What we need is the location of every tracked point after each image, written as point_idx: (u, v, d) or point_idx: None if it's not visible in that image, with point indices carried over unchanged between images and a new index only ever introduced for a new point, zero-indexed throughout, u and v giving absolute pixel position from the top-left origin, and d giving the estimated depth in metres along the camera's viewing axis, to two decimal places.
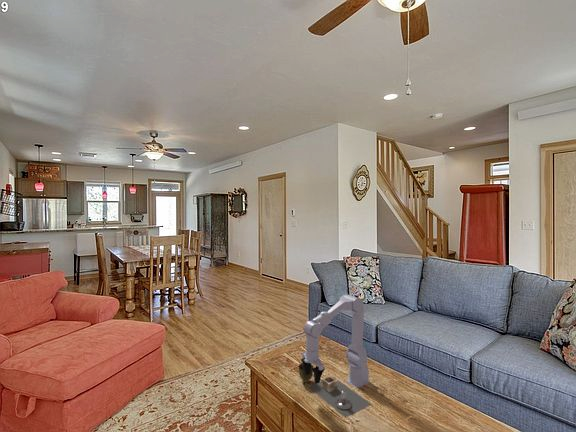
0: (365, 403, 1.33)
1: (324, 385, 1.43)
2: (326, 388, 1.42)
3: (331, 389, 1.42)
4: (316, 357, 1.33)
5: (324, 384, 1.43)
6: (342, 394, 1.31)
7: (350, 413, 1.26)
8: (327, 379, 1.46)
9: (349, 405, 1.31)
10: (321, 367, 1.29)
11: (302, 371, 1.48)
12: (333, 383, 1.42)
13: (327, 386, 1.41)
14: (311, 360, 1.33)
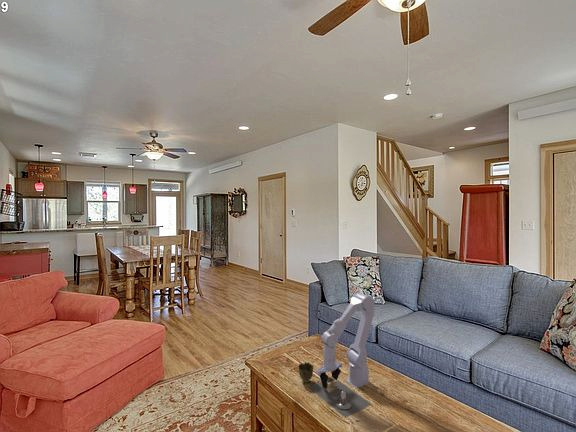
0: (365, 403, 1.33)
1: None
2: (326, 388, 1.42)
3: (331, 389, 1.42)
4: (325, 365, 1.43)
5: None
6: (342, 394, 1.31)
7: (350, 413, 1.26)
8: (327, 379, 1.46)
9: (349, 405, 1.31)
10: (317, 372, 1.41)
11: (302, 371, 1.48)
12: (333, 383, 1.42)
13: (327, 386, 1.41)
14: (323, 365, 1.45)
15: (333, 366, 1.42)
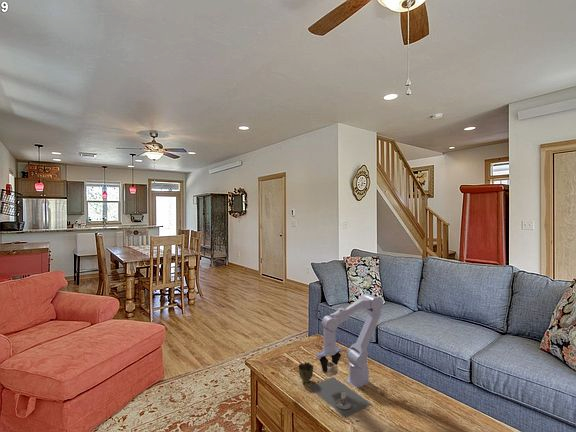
0: (365, 403, 1.33)
1: None
2: (326, 372, 1.42)
3: (331, 373, 1.42)
4: (325, 349, 1.42)
5: None
6: (342, 394, 1.31)
7: (350, 413, 1.26)
8: (327, 364, 1.46)
9: (349, 405, 1.31)
10: (317, 356, 1.41)
11: (302, 371, 1.48)
12: (333, 368, 1.42)
13: (327, 370, 1.41)
14: (323, 349, 1.45)
15: (333, 350, 1.42)
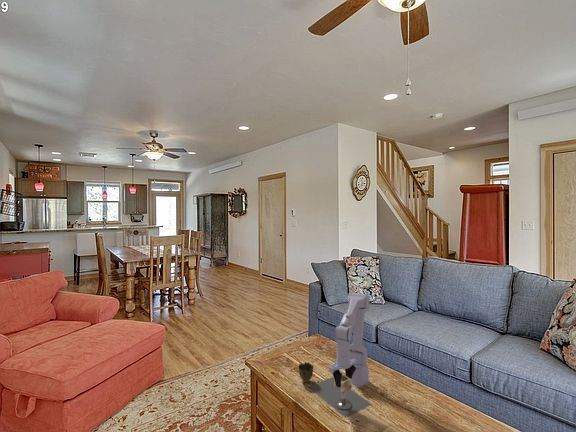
0: (365, 403, 1.33)
1: None
2: None
3: (345, 388, 1.29)
4: (339, 361, 1.30)
5: None
6: (342, 394, 1.31)
7: (350, 413, 1.26)
8: None
9: (349, 405, 1.31)
10: (330, 369, 1.28)
11: (302, 371, 1.48)
12: (347, 382, 1.30)
13: (341, 385, 1.29)
14: (336, 362, 1.32)
15: (347, 363, 1.30)
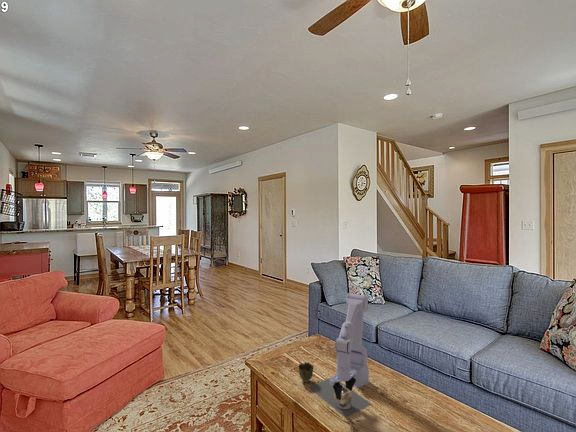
0: (365, 403, 1.33)
1: None
2: (339, 400, 1.30)
3: (345, 401, 1.29)
4: (339, 374, 1.30)
5: None
6: None
7: (350, 413, 1.26)
8: None
9: (349, 405, 1.31)
10: (330, 382, 1.28)
11: (302, 371, 1.48)
12: (347, 394, 1.30)
13: (341, 397, 1.29)
14: (336, 374, 1.32)
15: (348, 375, 1.29)
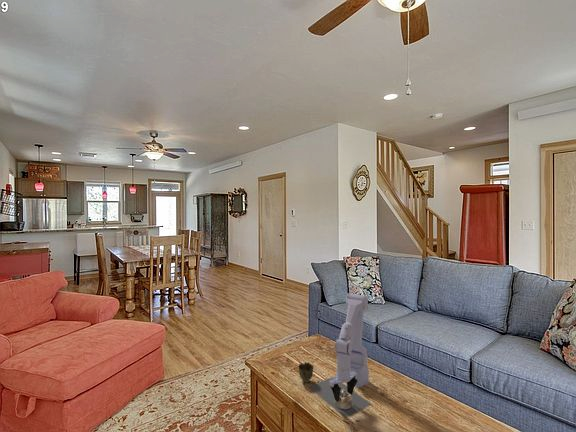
0: (365, 403, 1.33)
1: None
2: (339, 403, 1.30)
3: (345, 405, 1.29)
4: (339, 375, 1.30)
5: None
6: (342, 394, 1.31)
7: (350, 413, 1.26)
8: (340, 393, 1.34)
9: (349, 405, 1.31)
10: (330, 383, 1.28)
11: (302, 371, 1.48)
12: (347, 398, 1.30)
13: (341, 401, 1.29)
14: (336, 375, 1.32)
15: (348, 376, 1.29)
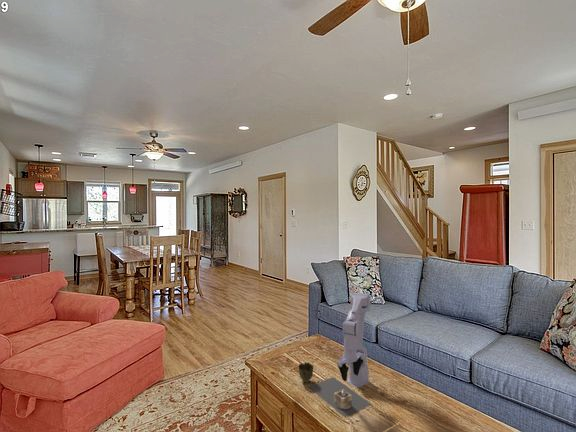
0: (365, 403, 1.33)
1: (337, 400, 1.31)
2: (339, 403, 1.30)
3: (345, 405, 1.29)
4: (346, 355, 1.35)
5: (337, 399, 1.31)
6: (342, 394, 1.31)
7: (350, 413, 1.26)
8: (340, 393, 1.34)
9: (349, 405, 1.31)
10: (338, 363, 1.33)
11: (302, 371, 1.48)
12: (347, 398, 1.30)
13: (341, 401, 1.29)
14: (343, 356, 1.37)
15: (355, 356, 1.34)
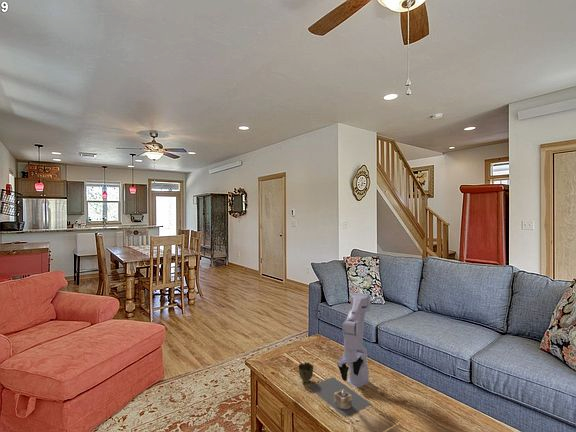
0: (365, 403, 1.33)
1: (337, 400, 1.31)
2: (339, 403, 1.30)
3: (345, 405, 1.29)
4: (346, 355, 1.35)
5: (337, 399, 1.31)
6: (342, 394, 1.31)
7: (350, 413, 1.26)
8: (340, 393, 1.34)
9: (349, 405, 1.31)
10: (338, 363, 1.33)
11: (302, 371, 1.48)
12: (347, 398, 1.30)
13: (341, 401, 1.29)
14: (343, 355, 1.37)
15: (355, 356, 1.34)
